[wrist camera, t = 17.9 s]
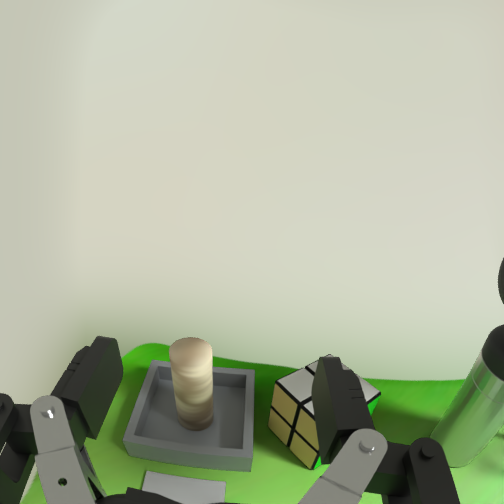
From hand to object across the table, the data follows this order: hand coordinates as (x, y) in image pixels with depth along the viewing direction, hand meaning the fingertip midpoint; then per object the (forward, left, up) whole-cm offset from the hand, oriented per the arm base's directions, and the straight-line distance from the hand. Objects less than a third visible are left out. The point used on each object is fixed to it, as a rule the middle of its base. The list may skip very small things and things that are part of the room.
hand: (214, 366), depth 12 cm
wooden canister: (+5, -19, -29) cm, 35 cm away
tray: (+5, -19, -30) cm, 36 cm away
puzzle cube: (-12, -18, -30) cm, 37 cm away
